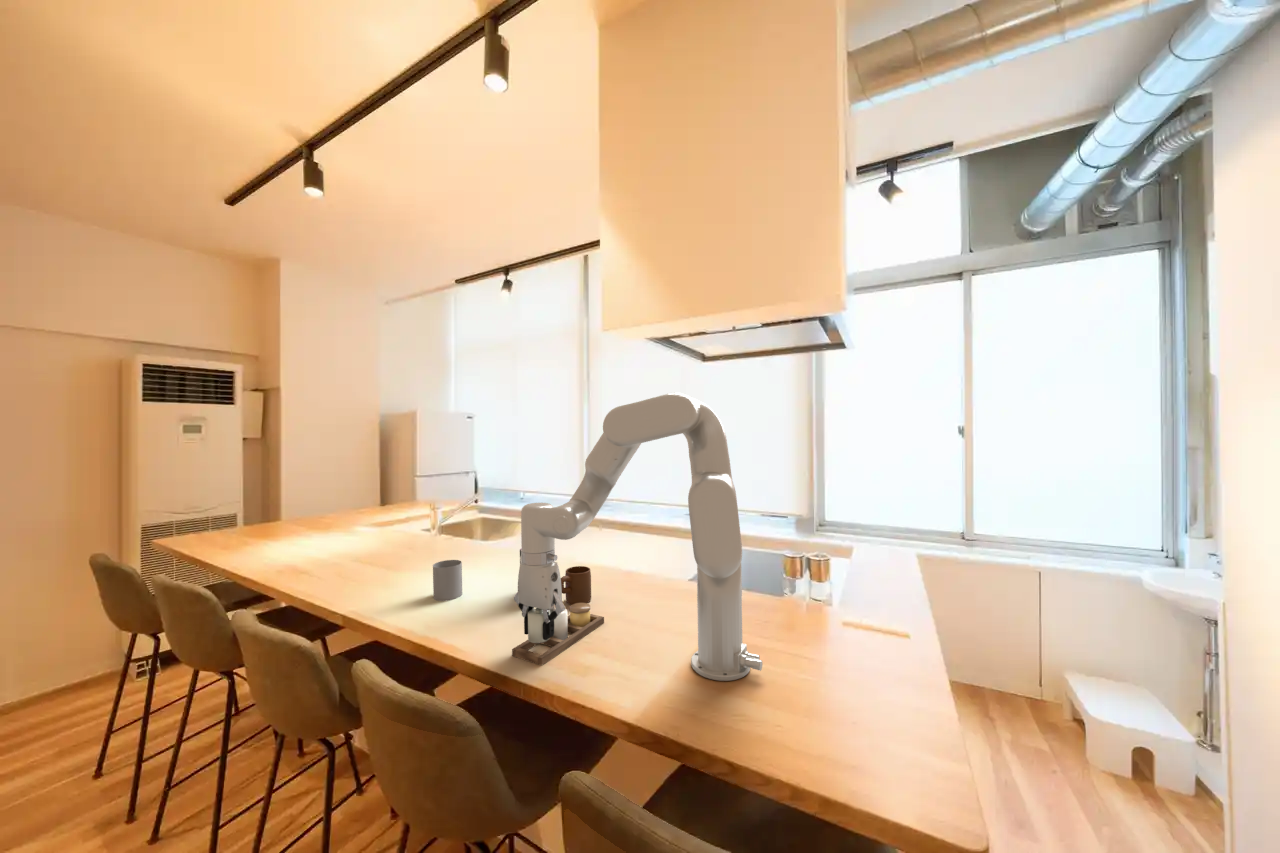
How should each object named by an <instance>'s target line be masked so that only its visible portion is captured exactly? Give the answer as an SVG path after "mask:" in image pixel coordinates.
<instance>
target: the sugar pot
mask: <svg viewBox="0 0 1280 853" xmlns="http://www.w3.org/2000/svg"><path fill="white" fill-rule="evenodd" d="M548 612H549V615H550V610H548ZM544 622H545V619H544V615H543V610H542V609H539V608H534V609H533V610H530V611H529V612H528V634H527V640H528V641H529V642H532V643H538V644H541V643H542V642H545V641H547V640H549V639H550V638H549V639H547V640H544V639H543V623H544Z"/></svg>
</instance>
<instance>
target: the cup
mask: <svg viewBox="0 0 1280 853" xmlns="http://www.w3.org/2000/svg"><path fill="white" fill-rule="evenodd" d="M462 565H463V562H462V560H458V559H446V560H441V561H438V562H435V563H433V564H432V580H433V581H432V583H433V584H432V585H433V586H432V587H433V588H432V589H433V600H435V601H438V602H444V601H452V600H455V599H458V598H460V597H462V596H463V566H462Z"/></svg>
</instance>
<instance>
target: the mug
mask: <svg viewBox="0 0 1280 853" xmlns="http://www.w3.org/2000/svg"><path fill="white" fill-rule="evenodd" d="M591 571H592V570H591V568H590V567H588V566H586V565H585V566H583V565H576V566H571V567H568V568H566V569H565V573H564V574H565V575H564V576H561V577H560V578H561V588H562V594H564V595H565V603H567V604H568V605H570V606H571V605H573V604H575V603H588V604H589V603H590V602H591V600H592V574H591Z"/></svg>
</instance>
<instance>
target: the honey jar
mask: <svg viewBox="0 0 1280 853" xmlns="http://www.w3.org/2000/svg"><path fill="white" fill-rule="evenodd" d="M590 614H591V604H589V602H588V603H575V604H573V605H570V606H569V615H570V624H571V625H575V626H579V627H584V626H586V625H587V624H589V623H590Z"/></svg>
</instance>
